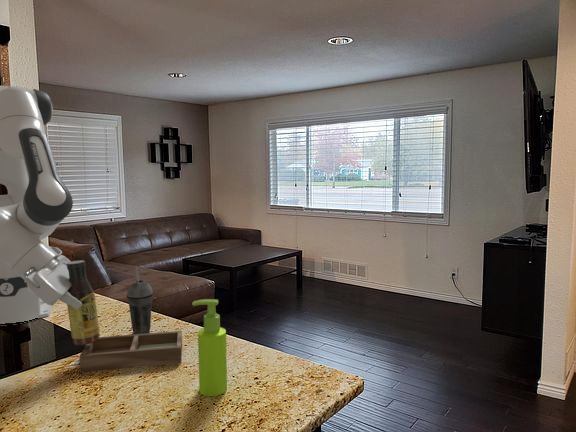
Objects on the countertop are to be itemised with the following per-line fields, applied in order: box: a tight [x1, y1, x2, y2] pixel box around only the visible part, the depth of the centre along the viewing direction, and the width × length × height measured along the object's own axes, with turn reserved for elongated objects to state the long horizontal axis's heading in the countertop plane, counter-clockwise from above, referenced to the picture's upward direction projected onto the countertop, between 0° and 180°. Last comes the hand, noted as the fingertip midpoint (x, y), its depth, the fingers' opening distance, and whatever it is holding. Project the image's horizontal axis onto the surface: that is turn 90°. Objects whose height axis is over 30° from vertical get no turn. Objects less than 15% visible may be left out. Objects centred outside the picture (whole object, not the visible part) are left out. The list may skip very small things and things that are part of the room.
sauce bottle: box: [66, 259, 101, 346], centre depth 107 cm, size 7×6×20 cm
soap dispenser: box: [191, 298, 228, 397], centre depth 95 cm, size 6×7×20 cm
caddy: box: [79, 330, 183, 373], centre depth 111 cm, size 11×23×4 cm, turn 102°
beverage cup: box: [126, 266, 154, 335], centre depth 126 cm, size 7×7×20 cm
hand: (84, 301), depth 107 cm, fingers closed on sauce bottle, 6 cm apart
